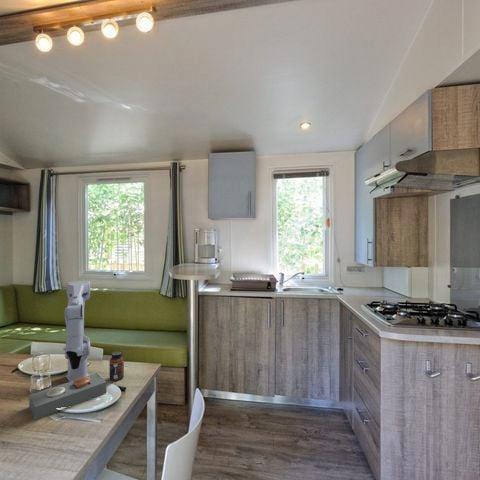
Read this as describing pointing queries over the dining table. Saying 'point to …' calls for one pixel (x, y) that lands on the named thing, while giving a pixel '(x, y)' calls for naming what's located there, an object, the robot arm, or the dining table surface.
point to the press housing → (66, 396)
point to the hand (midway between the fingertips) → (75, 368)
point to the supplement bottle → (116, 366)
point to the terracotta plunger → (81, 382)
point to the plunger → (55, 392)
